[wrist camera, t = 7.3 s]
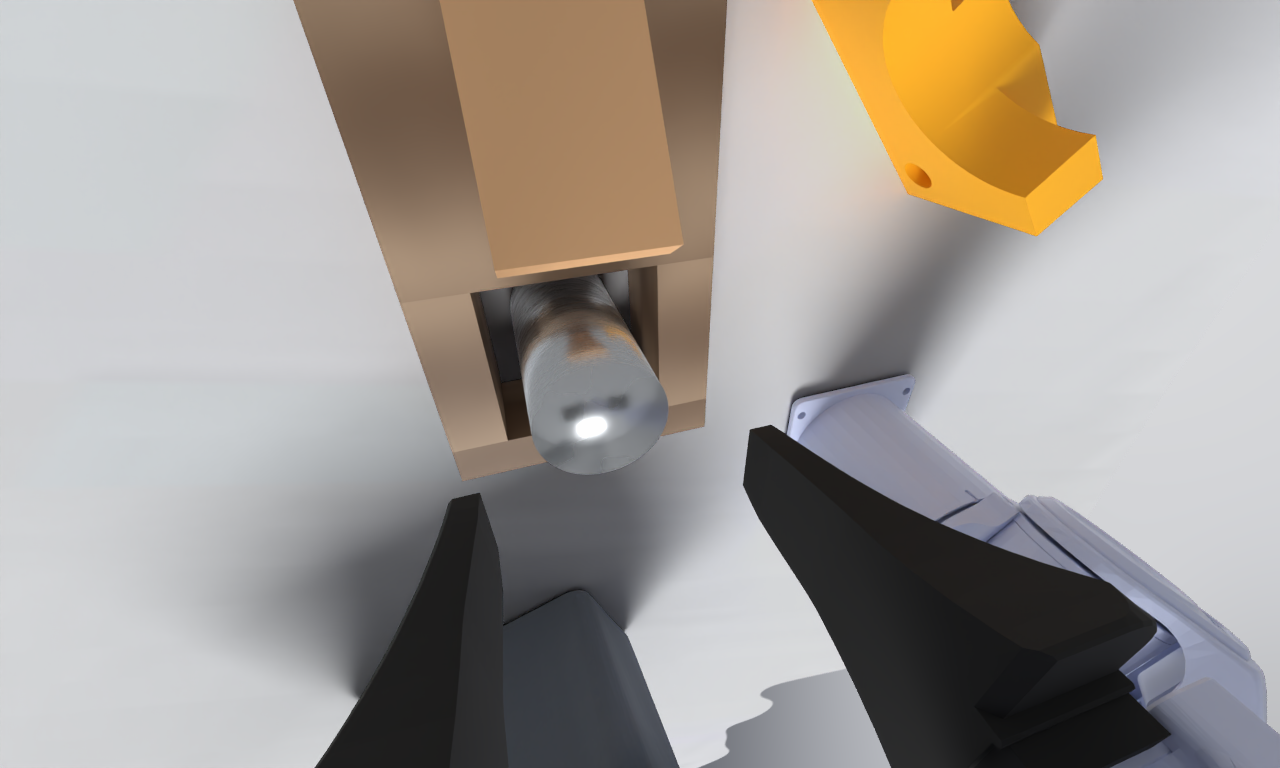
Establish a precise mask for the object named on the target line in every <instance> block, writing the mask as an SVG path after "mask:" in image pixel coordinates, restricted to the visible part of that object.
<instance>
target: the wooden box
mask: <svg viewBox="0 0 1280 768" xmlns="http://www.w3.org/2000/svg"><path fill="white" fill-rule="evenodd" d="M294 3H295V6H296V9H297V12H298V15H299V18H300V20H301V23H302V26H303V29H304V32H305V35H306V37H307V40H308V43H309V46H310V49H311V52H312V55H313V57H314V60H315V63H316V66H317V69H318V72H319V74H320V77H321V80H322V83H323V86H324V89H325V91H326V94H327V97H328V100H329V103H330V106H331V109H332V111H333V114H334V117H335V120H336V123H337V126H338V128H339V131H340V134H341V137H342V140H343V143H344V146H345V148H346V151H347V154H348V157H349V160H350V163H351V165H352V168H353V171H354V174H355V177H356V180H357V182H358V185H359V188H360V191H361V194H362V197H363V200H364V202H365V205H366V208H367V211H368V214H369V217H370V219H371V222H372V225H373V228H374V231H375V234H376V237H377V239H378V242H379V245H380V248H381V251H382V254H383V256H384V259H385V262H386V265H387V268H388V271H389V273H390V276H391V279H392V282H393V285H394V288H395V291H396V293H397V296H398V299H399V302H400V305H401V308H402V310H403V313H404V316H405V319H406V322H407V325H408V328H409V330H410V333H411V336H412V339H413V342H414V345H415V347H416V350H417V353H418V356H419V359H420V362H421V364H422V367H423V370H424V373H425V376H426V379H427V382H428V384H429V387H430V390H431V393H432V396H433V399H434V401H435V404H436V407H437V410H438V413H439V416H440V419H441V421H442V424H443V427H444V430H445V433H446V436H447V438H448V441H449V444H450V447H451V450H452V453H453V456H454V458H455V461H456V464H457V467H458V470H459V473H460V475H461V478H462V481H466V480H470V479H475V478H479V477H484V476H488V475H492V474H497V473H501V472H506V471H510V470H514V469H519V468H523V467H528V466H532V465H537V464H541V463H545V462H547V461H546V460H545V459H544V458H543V457H542V456H541V455H540V454H539V452H538V451H537V449H536V447H535V445H534V443H533V439H532V434H531V428H530V423H529V417H528V411H527V405H526V399H525V393H524V387H523V382H522V379H520V380H514V381H509V382H504V383H501V379H500V375H499V371H498V366H497V362H496V358H495V354H494V350H493V346H492V342H491V338H490V334H489V330H488V326H487V322H486V317H485V313H484V309H483V305H482V301H481V297H480V293H479V292H481V291H488V290H494V289H501V288H508V287H515V286H522V285H528V284H535V283H542V282H549V281H555V280H562V279H569V278H576V277H582V276H589V275H596V274H603V273H609V272H616V271H623V270H628V283H629V301H630V320H631V334H632V335H633V337H634V339H635V340H636V342H637V344H638V346H639V347H640V349H641V351H642V353H643V354H644V356H645V358H646V359H647V361H648V363H649V365H650V366H651V368H652V370H653V372H654V373H655V375H656V377H657V378H658V380H659V382H660V384H661V385H662V387H663V389H664V391H665V393H666V396H667V400H668V419H667V422H666V425H665V428H664V430H663V432H662V434H661V436H664V435H669V434H673V433H678V432H682V431H686V430H691V429H695V428H700V427H704V424H705V405H706V387H707V368H708V349H709V330H710V311H711V292H712V274H713V255H714V236H715V217H716V198H717V180H718V161H719V142H720V123H721V104H722V85H723V67H724V48H725V29H726V10H727V0H644V3H645V9H646V15H647V21H648V27H649V33H650V40H651V46H652V52H653V58H654V64H655V70H656V77H657V83H658V89H659V95H660V101H661V107H662V114H663V120H664V126H665V132H666V138H667V144H668V151H669V157H670V163H671V169H672V175H673V181H674V188H675V194H676V200H677V206H678V212H679V218H680V225H681V231H682V237H683V243H684V245H682V246H681V247H679V248H678V249H676V250H675V251H674V252H672V253H671V254H664V255H658V256H651V257H644V258H637V259H630V260H623V261H616V262H609V263H602V264H595V265H588V266H581V267H574V268H567V269H560V270H553V271H546V272H539V273H532V274H525V275H518V276H511V277H504V278H497V276H496V273H495V270H494V265H493V260H492V255H491V251H490V246H489V241H488V236H487V231H486V226H485V221H484V216H483V211H482V206H481V202H480V197H479V192H478V187H477V182H476V177H475V172H474V167H473V162H472V157H471V152H470V148H469V143H468V138H467V133H466V128H465V123H464V118H463V113H462V108H461V103H460V99H459V94H458V89H457V84H456V79H455V74H454V69H453V64H452V59H451V54H450V50H449V45H448V40H447V35H446V30H445V25H444V20H443V15H442V10H441V5H440V0H294Z"/></svg>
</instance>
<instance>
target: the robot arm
mask: <svg viewBox="0 0 1280 768" xmlns="http://www.w3.org/2000/svg"><path fill="white" fill-rule="evenodd" d="M914 385H915V378H914V377H913V376H911V375H910V374H906V375H902V376H897V377H893V378H888V379H884V380H879V381H875V382H870V383H866V384H861V385H857V386H852V387H848V388H843V389H839V390H834V391H830V392H826V393H821V394H817V395H812V396H808V397H803V398H800V399H797V400H796V401H795V402H794V403H793V405H792V409H791V414H790V420H789V425H788V430H787V435H786V434H785V433H783V432H782V431H780V430H779V429H777V428H775V427H774V426H772V425H768V426H764V427H760V428H755V429H751V430H750V433H749V441H748V449H747V457H746V465H745V473H744V481H743V486H744V488H745V491H746V493H747V495H748V497H749V499H750V501H751V504H752V506H753V508H754V510H755V512H756V514H757V516H758V518H759V520H760V521H761V523H762V524H763V526H764V528H765V529H766V531H767V532H768V534H769V536H770V537H771V539H772V540H773V542H774V543H775V545H776V547H777V548H778V550H779V551H780V553H781V554H782V556H783V557H784V559H785V560H786V562H787V563H788V565H789V567H790V568H791V570H792V571H793V573H794V574H795V576H796V577H797V579H798V580H799V582H800V583H801V585H802V587H803V588H804V590H805V591H806V593H807V594H808V596H809V598H810V599H811V601H812V603H813V604H814V606H815V608H816V610H817V611H818V613H819V615H820V617H821V619H822V621H823V623H824V625H825V627H826V629H827V631H828V633H829V635H830V636H831V638H832V640H833V642H834V644H835V646H836V648H837V650H838V652H839V654H840V656H841V658H842V660H843V662H844V664H845V666H846V669H847V671H848V672H849V675H850V676H851V679H852V681H853V683H854V685H855V687H856V689H857V691H858V693H859V696H860V698H861V700H862V702H863V704H864V707H865V709H866V711H867V713H868V715H869V717H870V720H871V722H872V724H873V726H874V728H875V731H876V733H877V735H878V738H879V740H880V743H881V745H882V747H883V749H884V752H885V754H886V757H887V759H888V761H889V764H890V766H891V768H1280V734H1278V733H1277V732H1276V731H1275V730H1274V729H1272V728H1271V727H1270V726H1269V725H1268V724H1267V690H1266V683H1265V676H1264V673H1263V671H1262V669H1261V668H1260V667H1259V666H1258V665H1257V664H1256V663H1255V662H1254V661H1253V660H1252V659H1251V655H1250V651H1249V649H1248V648H1247V646H1246V645H1245V644H1244V643H1243V642H1242V641H1240V639H1238V638H1237V637H1236V636H1235V635H1234V634H1233V633H1232V632H1231V631H1229V630H1228V629H1227V628H1226V627H1224V626H1223V625H1222V624H1221V623H1220V622H1218V621H1217V620H1215V619H1214V618H1213V617H1212V616H1210V615H1209V614H1208V613H1206V612H1205V611H1204V610H1202V609H1201V608H1200V607H1198V605H1197V604H1196V603H1195V602H1194V601H1193V600H1192V599H1191V598H1190V597H1188V596H1187V595H1186V594H1185V593H1184V592H1182V591H1181V590H1180V589H1179V588H1178V587H1176V586H1175V585H1174V584H1173V583H1171V582H1170V581H1169V580H1168V579H1166V578H1165V577H1164V576H1163V575H1161V574H1160V573H1159V572H1157V571H1156V570H1155V569H1153V568H1152V567H1151V566H1150V565H1148V564H1147V563H1146V562H1145V561H1143V560H1142V559H1140V558H1139V557H1138V556H1137V555H1135V554H1134V553H1133V552H1131V551H1130V550H1129V549H1127V548H1126V547H1125V546H1123V545H1122V544H1121V543H1119V542H1118V541H1116V540H1115V539H1114V538H1112V537H1111V536H1110V535H1108V534H1107V533H1106V532H1104V531H1103V530H1101V529H1100V528H1099V527H1097V526H1096V525H1094V524H1093V523H1092V522H1090V521H1089V520H1087V519H1086V518H1085V517H1083V516H1082V515H1080V514H1079V513H1077V512H1076V511H1074V510H1073V509H1071V508H1070V507H1068V506H1067V505H1065V504H1064V503H1062V502H1061V501H1059V500H1057V499H1055V498H1054V497H1046V496H1039V497H1036V496H1034V495H1027V496H1025V497H1024V499H1023V500H1022V501H1021V502H1020V503H1017V502H1015V501H1013V500H1011V499H1009V498H1008V497H1006V496H1005V495H1004V494H1003V493H1002V492H1000V491H999V490H998V489H997V488H996V487H994V486H993V485H992V484H991V483H990V482H988V481H987V480H986V479H985V478H983V477H982V476H981V475H980V474H979V473H977V472H976V471H975V470H974V469H973V468H971V467H970V466H969V465H968V464H967V463H965V462H964V461H963V460H962V459H961V458H959V457H958V456H957V455H956V454H954V453H953V452H952V451H951V450H950V449H948V448H947V447H946V446H945V445H944V444H942V443H941V442H940V441H939V440H938V439H936V438H935V437H934V436H933V435H932V434H930V433H929V432H928V431H927V430H925V429H924V428H923V427H922V426H921V425H919V424H918V423H917V422H916V421H915V420H913V419H912V418H911V417H910V416H909V415H907V414H906V413H905V410H906V407H907V404H908V401H909V399H910V396H911V393H912V390H913V387H914ZM315 768H509V764H508V754H507V743H506V731H505V720H504V705H503V588H502V579H501V570H500V561H499V552H498V547H497V544H496V541H495V538H494V535H493V532H492V529H491V526H490V523H489V519H488V516H487V513H486V510H485V507H484V504H483V501H482V498H481V495H480V493H477V494H472V495H468V496H464V497H459V498H455V499H452V500H451V501H450V502H449V504H448V507H447V510H446V514H445V517H444V520H443V523H442V526H441V529H440V532H439V535H438V538H437V541H436V543H435V546H434V549H433V551H432V554H431V557H430V559H429V561H428V564H427V566H426V569H425V571H424V573H423V576H422V578H421V581H420V583H419V586H418V588H417V590H416V592H415V595H414V597H413V599H412V601H411V603H410V605H409V607H408V609H407V611H406V613H405V616H404V618H403V620H402V622H401V624H400V626H399V628H398V630H397V632H396V634H395V636H394V638H393V640H392V642H391V644H390V646H389V648H388V650H387V651H386V653H385V655H384V657H383V659H382V661H381V662H380V664H379V666H378V668H377V670H376V671H375V673H374V675H373V677H372V678H371V680H370V682H369V684H368V685H367V687H366V689H365V690H364V692H363V694H362V695H361V697H360V699H359V700H358V702H357V703H356V705H355V707H354V708H353V710H352V712H351V713H350V715H349V717H348V718H347V720H346V721H345V723H344V725H343V726H342V728H341V729H340V731H339V732H338V734H337V736H336V737H335V739H334V740H333V742H332V743H331V745H330V746H329V748H328V749H327V751H326V752H325V754H324V755H323V757H322V758H321V760H320V761H319V762H318V764H317V765H316V767H315Z"/></svg>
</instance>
